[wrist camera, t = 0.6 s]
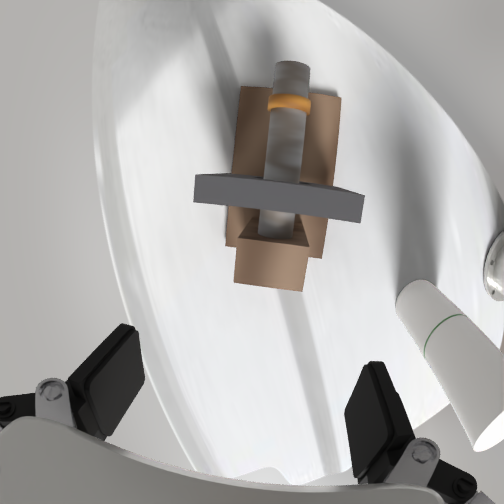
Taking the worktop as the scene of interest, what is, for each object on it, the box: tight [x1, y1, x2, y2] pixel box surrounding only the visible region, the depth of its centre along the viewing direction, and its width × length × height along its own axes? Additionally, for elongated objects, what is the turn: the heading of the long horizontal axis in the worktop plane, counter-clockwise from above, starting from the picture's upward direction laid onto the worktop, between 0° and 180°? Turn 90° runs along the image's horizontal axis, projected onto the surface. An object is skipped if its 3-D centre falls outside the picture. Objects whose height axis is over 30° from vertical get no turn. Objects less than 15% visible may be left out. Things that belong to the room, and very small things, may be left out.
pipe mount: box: [225, 61, 341, 292], centre depth 27 cm, size 12×20×12 cm, turn 174°
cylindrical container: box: [395, 280, 504, 452], centre depth 23 cm, size 7×7×25 cm
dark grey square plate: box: [193, 173, 365, 223], centre depth 25 cm, size 12×2×12 cm, turn 84°
